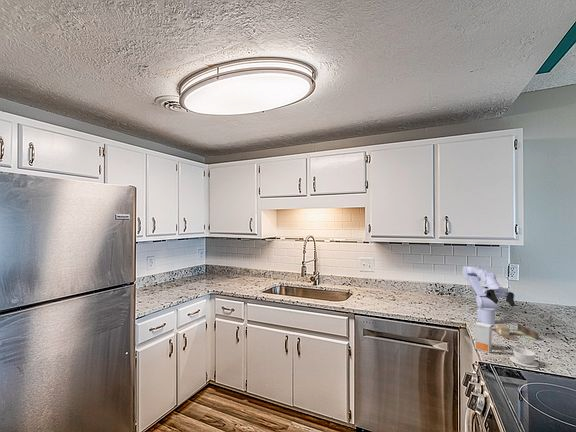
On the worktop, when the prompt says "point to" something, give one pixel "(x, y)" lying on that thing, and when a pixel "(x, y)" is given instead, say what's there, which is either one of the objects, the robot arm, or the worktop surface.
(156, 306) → the worktop surface
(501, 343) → the worktop surface
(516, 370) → the worktop surface
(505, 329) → the birch block
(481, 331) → the skincare box
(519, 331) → the box
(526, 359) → the teacup
